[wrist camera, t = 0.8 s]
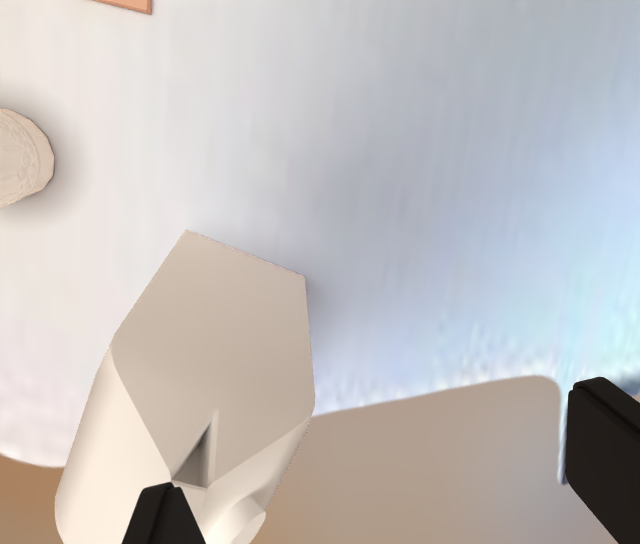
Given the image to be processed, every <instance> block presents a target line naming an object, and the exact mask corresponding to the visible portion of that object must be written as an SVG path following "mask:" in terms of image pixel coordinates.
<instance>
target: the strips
mask: <svg viewBox="0 0 640 544" xmlns="http://www.w3.org/2000/svg"><path fill="white" fill-rule="evenodd" d="M94 1H98V2H102V3H106V4H110V5H114V6H118V7H122V8H127V9H131V10H135V11H139V12H143V13H147V14H151V0H94Z"/></svg>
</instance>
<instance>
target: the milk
mask: <svg viewBox="0 0 640 544" xmlns="http://www.w3.org/2000/svg"><path fill="white" fill-rule="evenodd" d="M314 406H315V387H314V376H313V365H312V354H311V342H310V331H309V320H308V309H307V298H306V287H305V276H303V275H300V274H298V273H295V272H293V271H290V270H288V269H285V268H282V267H280V266H277V265H275V264H272V263H270V262H267V261H265V260H262V259H260V258H257V257H255V256H252V255H249V254H247V253H244V252H242V251H239V250H237V249H234V248H232V247H229V246H227V245H224V244H221V243H219V242H216V241H214V240H211V239H209V238H206V237H204V236H201V235H199V234H196V233H194V232H191V231H188V230H185V231H184V233H183V234H182V236H181V237H180V239H179V240H178V241H177V243H176V244H175V246H174V247H173V249H172V250H171V252H170V253H169V255H168V256H167V258H166V259H165V261H164V262H163V264H162V265H161V267H160V268H159V269H158V271H157V272H156V274H155V275H154V277H153V278H152V280H151V281H150V283H149V284H148V286H147V287H146V289H145V290H144V292H143V293H142V294H141V296H140V297H139V299H138V300H137V302H136V303H135V305H134V306H133V308H132V309H131V311H130V312H129V314H128V315H127V317H126V318H125V319H124V321H123V322H122V324H121V325H120V327H119V328H118V330H117V331H116V333H115V335H114V337H113V339H112V341H111V343H110V345H109V347H108V350H107V352H106V354H105V356H104V358H103V360H102V362H101V364H100V367H99V369H98V371H97V373H96V376H95V379H94V382H93V385H92V388H91V391H90V394H89V397H88V400H87V403H86V406H85V409H84V412H83V415H82V418H81V421H80V424H79V427H78V430H77V433H76V436H75V439H74V442H73V445H72V448H71V451H70V454H69V457H68V460H67V463H66V466H65V469H64V472H63V475H62V478H61V481H60V484H59V487H58V490H57V493H56V497H55V520H56V524H57V529H58V532H59V534H60V536H61V538H62V540H63V542H64V544H122V541H123V538H124V535H125V533H126V530H127V527H128V525H129V522H130V519H131V517H132V514H133V511H134V509H135V506H136V503H137V501H138V498H139V495H140V493H141V491H142V490H143V489H144V488H146V487H150V486H154V485H158V484H162V483H166V482H171V483H172V484H173V485H174V487H181V489H182V490H183V493H184V495H185V497H186V499H187V502H188V504H189V506H190V508H191V511H192V513H193V515H194V517H195V520H196V522H197V524H198V526H199V528H200V531H201V533H202V535H203V537H204V540H205V542H206V544H249V543H250V541H251V540H252V539H253V538H254V536H255V535H256V534H257V532H258V531H259V529H260V527H261V526H262V524H263V522H264V520H265V517H266V513H265V510H266V508H267V506H268V504H269V502H270V500H271V498H272V497H273V495H274V493H275V491H276V489H277V487H278V485H279V483H280V482H281V480H282V478H283V476H284V474H285V472H286V471H287V469H288V467H289V465H290V463H291V461H292V459H293V458H294V456H295V454H296V452H297V450H298V448H299V446H300V444H301V443H302V441H303V439H304V437H305V435H306V433H307V429H308V426H309V423H310V419H311V416H312V412H313V409H314Z"/></svg>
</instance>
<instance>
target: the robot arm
mask: <svg viewBox="0 0 640 544" xmlns="http://www.w3.org/2000/svg"><path fill="white" fill-rule="evenodd" d="M565 472H566V477H567V480H568V482H569V484H570V486H571V487H572V489H573V490H574V491H575V492H576V494H577V495H578V496H579V497H580V498H581V499H582V501H583V502H584V503H585V504H586V505H587V507H588V508H589V509H590V510H591V511H592V512H593V514H594V515H595V516H596V517H597V519H598V520H599V521H600V522H601V523H602V524H603V525H604V527H605V528H606V529H607V530H608V531H609V533H610V534H611V535H612V536H613V538H614V539H615V540H616V541H617V542H618V543H619V544H640V403H639V402H638V401H636V400H635V399H633V398H632V397H631V396H629V395H628V394H627V393H625V392H624V391H623V390H621V389H620V388H619V387H617V386H616V385H614V384H613V383H612V382H610V381H609V380H607V379H606V378H604V377H596V378H592V379H588V380H584V381H580V382H576V383H575V384H574V385H573V390H571V391H570V392H569V394H568V416H567V442H566V468H565ZM122 544H206V542H205V540H204V537H203V535H202V533H201V531H200V528H199V526H198V524H197V522H196V520H195V517H194V515H193V513H192V511H191V508H190V506H189V504H188V502H187V499H186V497H185V495H184V493H183V490H182V489H181V487H174V485H173V484H172V483H171V482H166V483H162V484H158V485H154V486H150V487H146V488H144V489H143V490H142V491H141V493H140V495H139V498H138V501H137V503H136V506H135V509H134V511H133V514H132V517H131V519H130V522H129V525H128V527H127V530H126V533H125V535H124V538H123V541H122Z"/></svg>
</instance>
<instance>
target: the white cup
mask: <svg viewBox="0 0 640 544" xmlns="http://www.w3.org/2000/svg"><path fill="white" fill-rule="evenodd" d="M53 170H54V154H53V152H52V149H51V146H50V144H49V141H48V139H47V137H46V136H45V135H44V134H43V132H42V131H41V130H40V129H39V128H38V127H37V126H36V125H35V124H34V123H33V122H32V121H31V120H30V119H28V118H26V117H24V116H22V115H20V114H18V113H16V112H14V111H12V110H9V109H3V108H0V208H2V207H4V206H7V205H9V204H12V203H15V202H17V201H18V200H19V199H22V198H25V197H27V196H30V195H32V194H34V193H37V192H39V191H41V190H43V189H44V187H45V186H46V185H47V183H48V182H49V180H50V179H51V178H52V176H53Z"/></svg>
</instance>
